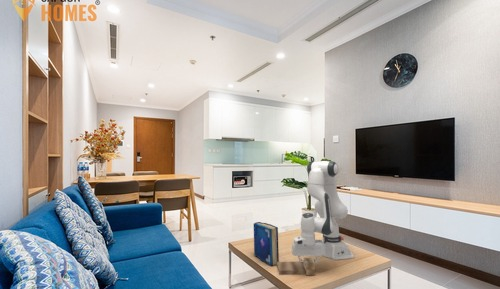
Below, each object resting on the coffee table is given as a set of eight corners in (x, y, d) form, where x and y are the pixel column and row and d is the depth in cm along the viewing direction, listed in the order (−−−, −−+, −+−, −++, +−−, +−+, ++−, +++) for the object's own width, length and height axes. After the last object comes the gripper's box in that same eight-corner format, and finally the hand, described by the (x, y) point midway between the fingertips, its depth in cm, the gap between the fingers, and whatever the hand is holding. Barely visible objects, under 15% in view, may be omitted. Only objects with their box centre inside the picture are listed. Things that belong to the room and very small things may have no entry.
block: (311, 269, 150) (311, 257, 151) (314, 275, 143) (314, 263, 143) (303, 269, 150) (303, 258, 151) (306, 275, 143) (306, 263, 143)
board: (309, 265, 157) (309, 261, 157) (314, 274, 145) (314, 270, 145) (276, 265, 156) (276, 261, 157) (279, 274, 144) (279, 270, 145)
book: (252, 255, 172) (252, 221, 173) (260, 253, 176) (259, 220, 177) (271, 267, 154) (271, 229, 156) (279, 264, 159) (278, 227, 160)
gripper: (322, 238, 151) (322, 260, 150) (291, 238, 151) (291, 259, 150) (325, 241, 145) (326, 264, 144) (293, 241, 144) (293, 264, 144)
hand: (308, 262), depth 147 cm, fingers open, 8 cm apart
